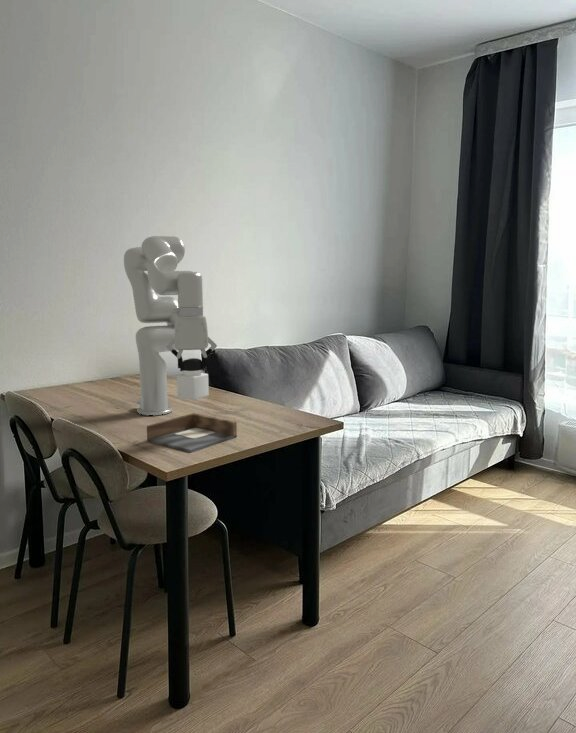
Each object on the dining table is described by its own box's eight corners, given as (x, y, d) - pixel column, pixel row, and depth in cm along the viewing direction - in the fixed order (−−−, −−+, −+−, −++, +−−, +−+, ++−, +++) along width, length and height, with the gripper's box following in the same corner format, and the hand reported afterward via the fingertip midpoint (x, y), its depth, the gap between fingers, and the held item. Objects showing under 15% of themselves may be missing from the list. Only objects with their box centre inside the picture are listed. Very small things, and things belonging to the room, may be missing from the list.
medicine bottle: (209, 395, 198) (208, 358, 196) (194, 400, 192) (193, 361, 190) (191, 393, 202) (190, 356, 200) (176, 397, 196) (175, 359, 194)
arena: (147, 441, 193) (146, 425, 192) (194, 427, 209) (193, 413, 208) (190, 452, 182) (190, 435, 181) (236, 437, 198) (236, 421, 197)
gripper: (161, 313, 188) (163, 373, 191) (219, 313, 190) (220, 371, 193) (162, 311, 195) (164, 368, 198) (218, 311, 197) (219, 367, 200)
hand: (192, 369), depth 196 cm, fingers closed on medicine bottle, 6 cm apart
